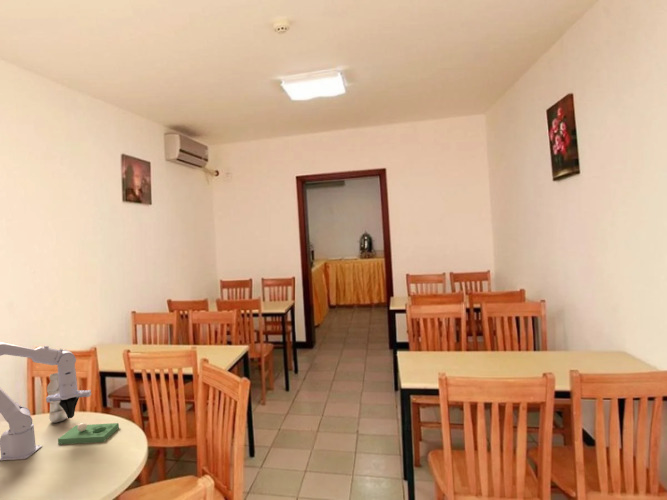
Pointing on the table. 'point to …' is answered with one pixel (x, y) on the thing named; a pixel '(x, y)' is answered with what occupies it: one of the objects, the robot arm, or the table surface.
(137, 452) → the table surface
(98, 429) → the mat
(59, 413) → the plastic bottle
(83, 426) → the ball
